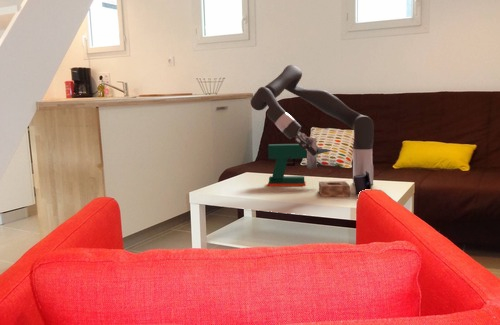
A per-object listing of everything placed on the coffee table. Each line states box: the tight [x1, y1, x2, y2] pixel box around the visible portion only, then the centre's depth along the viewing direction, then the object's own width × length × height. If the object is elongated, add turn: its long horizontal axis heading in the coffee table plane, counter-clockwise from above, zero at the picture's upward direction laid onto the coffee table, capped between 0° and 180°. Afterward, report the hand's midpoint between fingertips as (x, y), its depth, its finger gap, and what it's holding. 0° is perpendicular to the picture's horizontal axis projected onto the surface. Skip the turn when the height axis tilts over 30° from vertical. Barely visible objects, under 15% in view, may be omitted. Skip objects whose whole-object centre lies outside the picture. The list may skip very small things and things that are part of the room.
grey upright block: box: [306, 136, 318, 170], centre depth 197 cm, size 7×4×13 cm, turn 162°
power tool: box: [267, 143, 333, 187], centre depth 228 cm, size 32×7×20 cm, turn 84°
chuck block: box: [318, 180, 351, 198], centre depth 205 cm, size 12×12×4 cm
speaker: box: [352, 171, 372, 196], centre depth 202 cm, size 8×6×10 cm
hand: (316, 153), depth 196 cm, fingers closed on grey upright block, 4 cm apart
